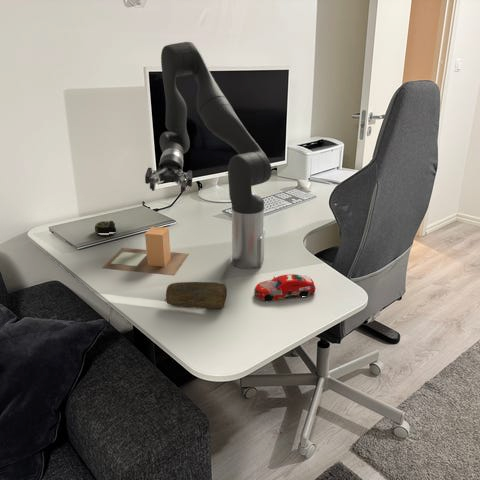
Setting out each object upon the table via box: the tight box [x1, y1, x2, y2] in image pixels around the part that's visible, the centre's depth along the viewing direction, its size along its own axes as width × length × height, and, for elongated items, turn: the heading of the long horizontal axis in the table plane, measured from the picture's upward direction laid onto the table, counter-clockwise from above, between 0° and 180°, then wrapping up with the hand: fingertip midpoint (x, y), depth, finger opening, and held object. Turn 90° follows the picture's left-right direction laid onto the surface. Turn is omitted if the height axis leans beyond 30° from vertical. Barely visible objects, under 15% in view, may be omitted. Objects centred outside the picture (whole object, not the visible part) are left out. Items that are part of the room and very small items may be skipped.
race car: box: [253, 273, 316, 302], centre depth 121 cm, size 16×7×5 cm, turn 101°
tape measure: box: [94, 220, 117, 234], centre depth 158 cm, size 7×7×4 cm
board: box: [101, 247, 190, 276], centre depth 135 cm, size 22×14×8 cm, turn 78°
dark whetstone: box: [165, 281, 228, 309], centre depth 115 cm, size 15×7×7 cm, turn 89°
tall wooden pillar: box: [144, 226, 171, 267], centre depth 133 cm, size 5×5×10 cm
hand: (167, 189), depth 136 cm, fingers open, 8 cm apart
